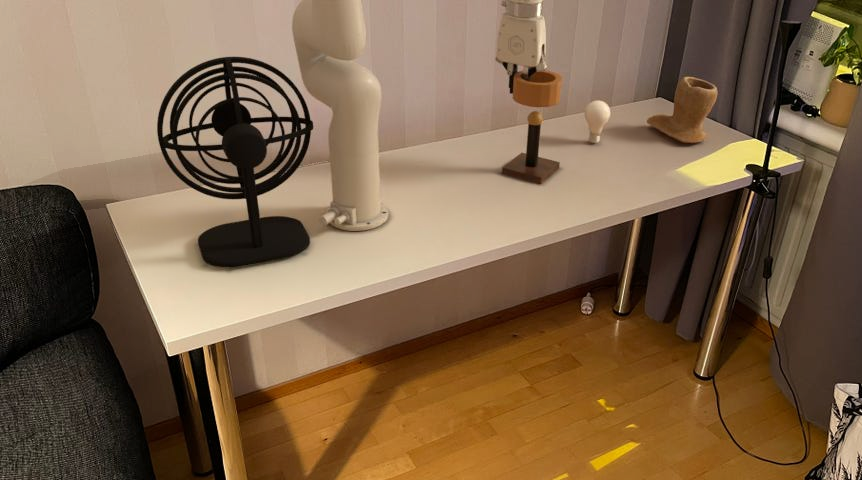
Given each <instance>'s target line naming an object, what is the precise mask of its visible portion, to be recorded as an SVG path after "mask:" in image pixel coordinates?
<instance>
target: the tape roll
mask: <svg viewBox="0 0 862 480" xmlns="http://www.w3.org/2000/svg"><path fill="white" fill-rule="evenodd" d="M522 77H523V69H522V70H518V72H517V73H515V75H514V83H513V94H512V100H513V101H514V102H515V103H517V104H519V105H521V106H525V107H531V108H549V107H554V106H557V105H558V104H559V103H560V102H561V93H562V92H561V91H562V83H563V77H562V76H561V75H560V74H559V73H558V72H557V73H556V72H555V71H551V70H547V69H545V70H544V71H540V72H535V73H534V74H533V75H532V76H531V78H530V82H529V81H526V80H523V79H522Z"/></svg>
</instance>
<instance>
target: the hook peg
mask: <svg viewBox="0 0 862 480" xmlns="http://www.w3.org/2000/svg"><path fill="white" fill-rule="evenodd" d="M543 121H544V119H543V115H542V113H541V112H539V111H537V110H533V111H530V112H529V114H528V115H527V123H528V125H527V136H526V137H527V138H526V150H525V153H526V162H525V165H526V166H528V167H536V166H537V164H538V157H539V150H540V139H541V128H542V127H541V126H542V123H543Z"/></svg>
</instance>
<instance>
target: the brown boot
mask: <svg viewBox="0 0 862 480" xmlns="http://www.w3.org/2000/svg"><path fill="white" fill-rule="evenodd" d="M717 97H718V88H717V86H716V85H715V84H713V83H711V82H709V81H707V80H704V79H702V78H697V77H695V76H694V77H693V76H684V77H682V78H681V79H680V80H679V81H678V83H677V85H676V88H675V92H674V97H673V98H674V100H673V112H672V115H670V114H665V113H664V114H663V113H662V114H661V113H660V114H655V115H653V116H651V117H650V116H649V117H648V118H647V119H646V123H647V124H648V125H650V126H651V127H653V128H655V129H656V130H658V131H660V132H661V133H663V134H664V135H667V136H669V137H670V138H672V139H675V140H677V141H679V142H682V143H685V144H695V143H701V142H704V141H705V140H706V139H707V138H708V136H707V134H706V133H705V132H704V131H703V129H702V125H703V123H704V121H705V119H706V118H707V116H708V115H709V114H710V112H711V110H712V108H713V107H714V105H715V103H716V101H717Z"/></svg>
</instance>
